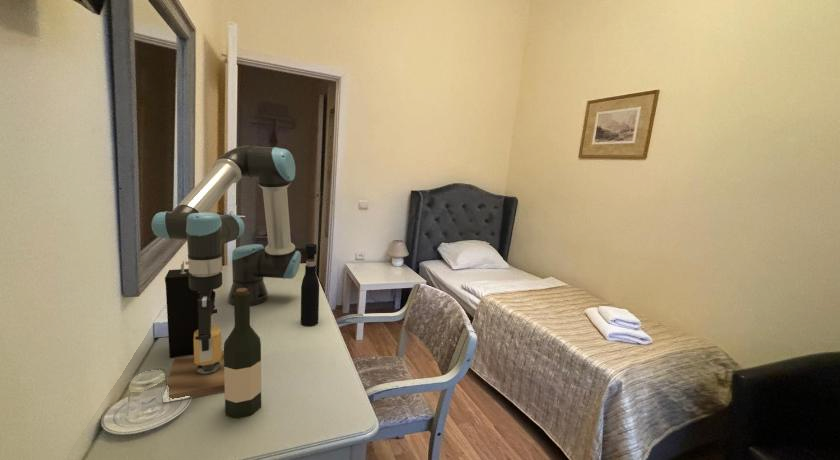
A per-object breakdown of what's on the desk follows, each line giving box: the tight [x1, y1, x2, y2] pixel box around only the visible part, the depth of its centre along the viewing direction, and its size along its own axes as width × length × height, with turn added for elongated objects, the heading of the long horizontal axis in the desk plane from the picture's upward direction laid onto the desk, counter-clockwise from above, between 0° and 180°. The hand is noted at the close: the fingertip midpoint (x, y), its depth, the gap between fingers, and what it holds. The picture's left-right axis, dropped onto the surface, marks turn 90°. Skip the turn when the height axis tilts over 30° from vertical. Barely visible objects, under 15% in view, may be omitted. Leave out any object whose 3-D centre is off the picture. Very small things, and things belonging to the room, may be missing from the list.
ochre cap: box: [194, 325, 223, 366], centre depth 96 cm, size 6×6×8 cm
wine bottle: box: [300, 243, 320, 327], centre depth 131 cm, size 6×6×30 cm
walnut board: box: [166, 350, 225, 399], centre depth 98 cm, size 18×18×2 cm
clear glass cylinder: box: [197, 362, 221, 375], centre depth 97 cm, size 6×6×10 cm
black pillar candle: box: [164, 260, 200, 359], centre depth 107 cm, size 8×8×28 cm
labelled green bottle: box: [223, 288, 262, 420], centre depth 84 cm, size 8×8×30 cm
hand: (208, 348), depth 96 cm, fingers open, 13 cm apart
